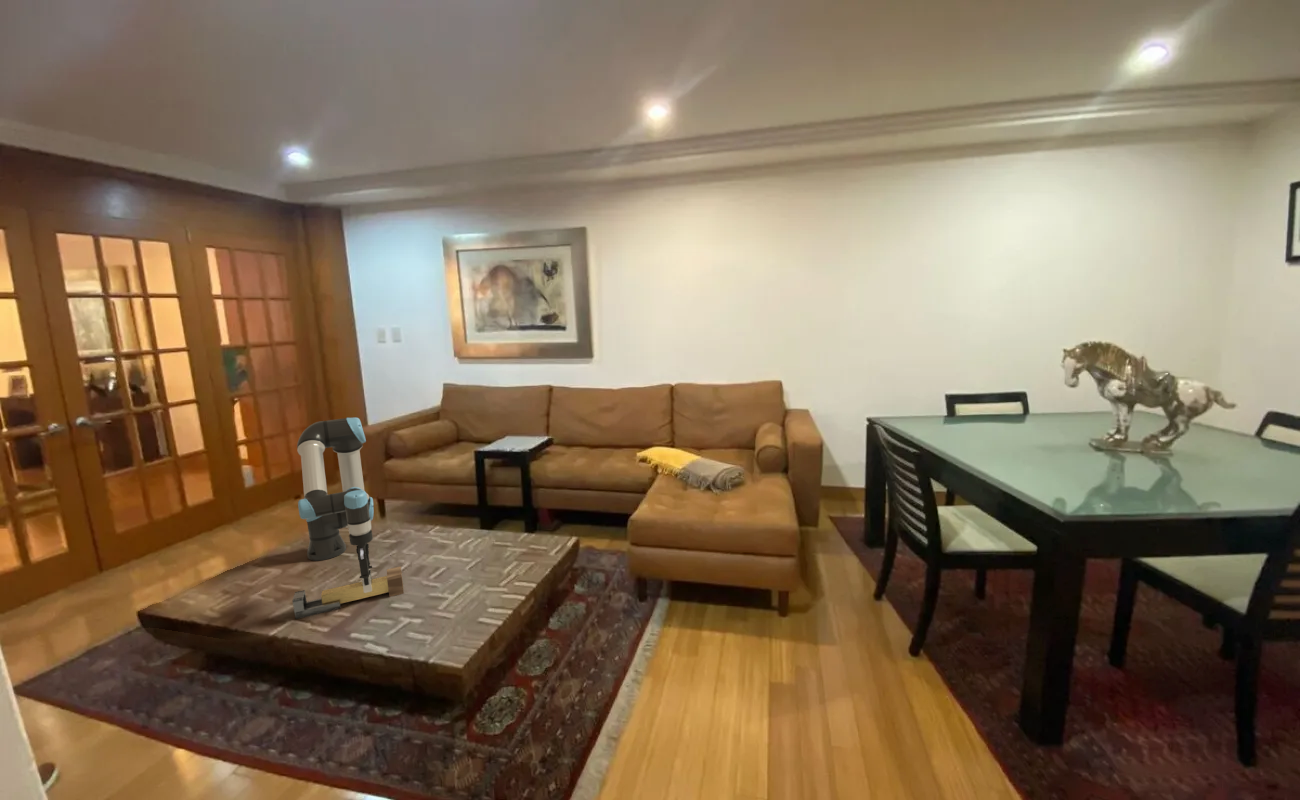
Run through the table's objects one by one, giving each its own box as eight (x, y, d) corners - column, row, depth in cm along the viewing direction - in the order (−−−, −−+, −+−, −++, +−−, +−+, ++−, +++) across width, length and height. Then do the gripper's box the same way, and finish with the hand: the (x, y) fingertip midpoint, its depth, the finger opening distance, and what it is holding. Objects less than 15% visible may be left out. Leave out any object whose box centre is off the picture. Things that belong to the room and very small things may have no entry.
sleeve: (298, 610, 194) (295, 592, 193) (341, 600, 200) (338, 582, 199) (295, 619, 189) (292, 600, 187) (340, 608, 195) (337, 590, 193)
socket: (389, 588, 208) (386, 569, 206) (403, 584, 210) (400, 566, 208) (389, 596, 201) (386, 577, 200) (403, 593, 204) (401, 574, 202)
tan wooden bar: (324, 602, 197) (320, 580, 195) (389, 587, 206) (386, 566, 204) (323, 608, 193) (319, 585, 191) (389, 592, 203) (386, 570, 201)
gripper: (350, 525, 203) (358, 581, 207) (347, 542, 187) (355, 602, 192) (372, 521, 206) (379, 576, 210) (370, 538, 191) (378, 597, 195)
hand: (368, 588), depth 201 cm, fingers closed on tan wooden bar, 4 cm apart
